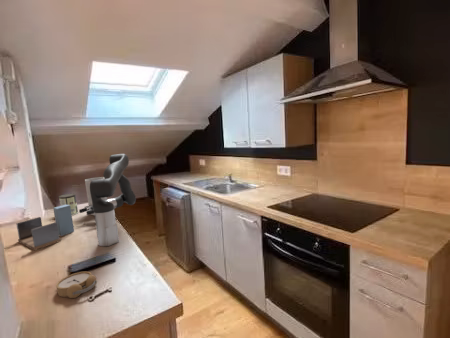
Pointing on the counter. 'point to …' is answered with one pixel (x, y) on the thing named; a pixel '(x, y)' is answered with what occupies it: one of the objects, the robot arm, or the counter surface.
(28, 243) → the book stand
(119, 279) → the counter surface
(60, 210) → the book
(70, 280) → the alarm clock
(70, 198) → the coffee can
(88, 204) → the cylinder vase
